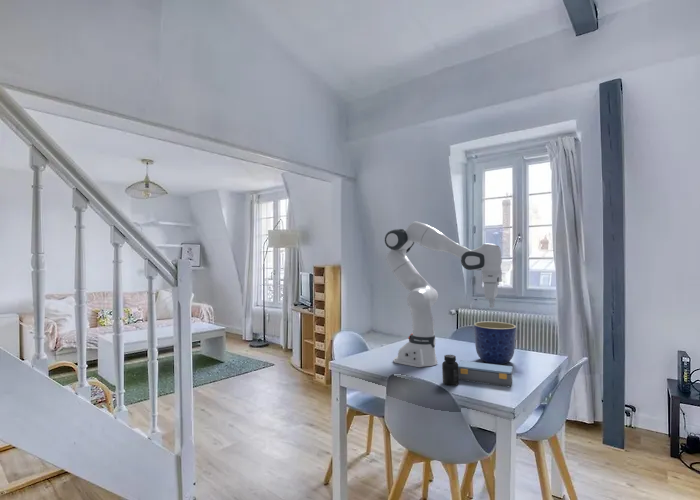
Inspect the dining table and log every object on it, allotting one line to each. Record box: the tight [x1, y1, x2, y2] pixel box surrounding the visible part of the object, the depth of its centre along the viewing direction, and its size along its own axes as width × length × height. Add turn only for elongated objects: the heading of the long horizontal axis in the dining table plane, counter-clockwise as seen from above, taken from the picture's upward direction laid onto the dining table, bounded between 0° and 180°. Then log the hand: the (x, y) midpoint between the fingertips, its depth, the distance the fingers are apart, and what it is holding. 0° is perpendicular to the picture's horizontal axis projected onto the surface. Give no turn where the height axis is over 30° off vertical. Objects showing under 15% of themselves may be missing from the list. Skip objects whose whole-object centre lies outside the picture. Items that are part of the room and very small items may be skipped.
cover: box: [458, 360, 514, 379], centre depth 173 cm, size 22×11×3 cm, turn 64°
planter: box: [473, 321, 517, 365], centre depth 203 cm, size 21×21×19 cm
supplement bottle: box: [441, 354, 460, 387], centre depth 169 cm, size 7×7×12 cm
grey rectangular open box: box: [458, 368, 513, 388], centre depth 174 cm, size 22×10×5 cm, turn 64°
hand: (491, 307), depth 183 cm, fingers closed
